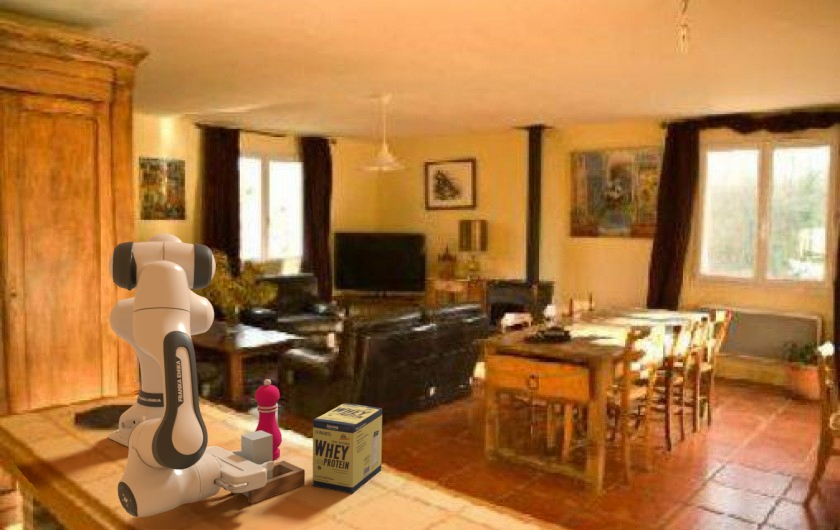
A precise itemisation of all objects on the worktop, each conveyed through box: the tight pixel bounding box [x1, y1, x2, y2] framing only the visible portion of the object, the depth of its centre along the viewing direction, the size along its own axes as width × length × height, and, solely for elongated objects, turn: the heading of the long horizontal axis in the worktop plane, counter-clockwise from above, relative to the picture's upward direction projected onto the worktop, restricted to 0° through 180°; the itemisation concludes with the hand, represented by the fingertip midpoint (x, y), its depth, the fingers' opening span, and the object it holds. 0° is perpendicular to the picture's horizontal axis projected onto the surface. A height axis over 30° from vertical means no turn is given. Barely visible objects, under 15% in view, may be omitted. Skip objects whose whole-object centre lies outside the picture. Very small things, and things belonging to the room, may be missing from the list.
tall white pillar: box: [240, 430, 274, 498], centre depth 145 cm, size 5×4×13 cm
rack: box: [230, 460, 306, 505], centre depth 147 cm, size 14×8×4 cm, turn 138°
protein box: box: [312, 402, 383, 494], centre depth 154 cm, size 10×16×16 cm
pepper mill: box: [254, 378, 283, 461], centre depth 166 cm, size 7×7×20 cm
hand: (260, 458), depth 146 cm, fingers open, 8 cm apart
